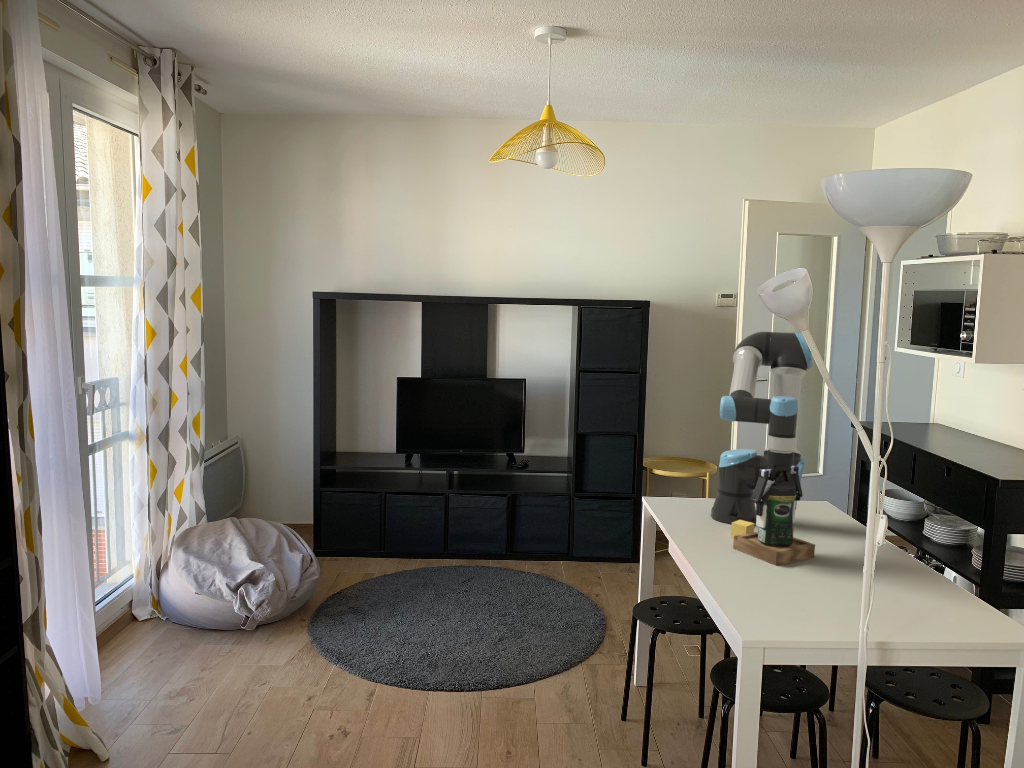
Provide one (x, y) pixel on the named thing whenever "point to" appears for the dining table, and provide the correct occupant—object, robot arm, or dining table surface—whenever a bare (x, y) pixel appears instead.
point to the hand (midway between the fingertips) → (775, 523)
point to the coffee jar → (779, 515)
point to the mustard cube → (741, 528)
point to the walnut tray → (773, 549)
